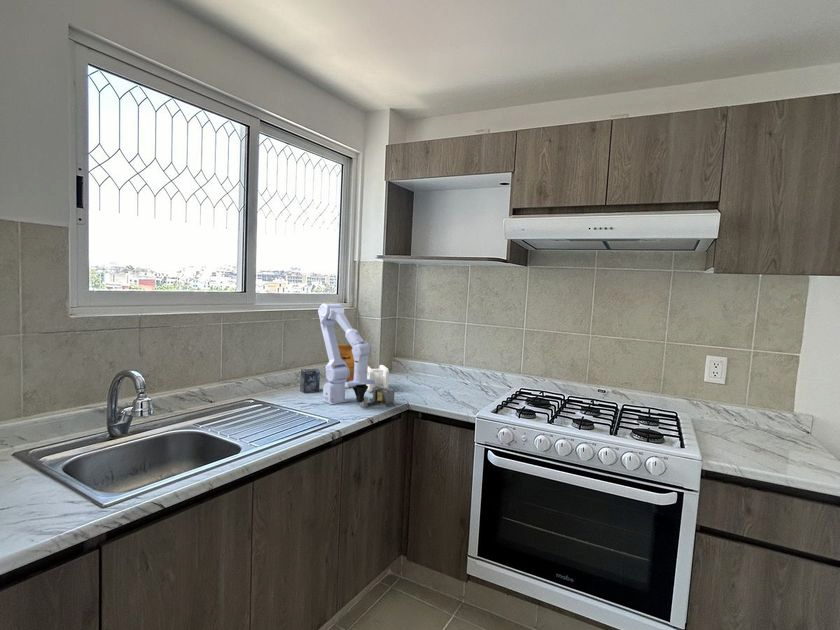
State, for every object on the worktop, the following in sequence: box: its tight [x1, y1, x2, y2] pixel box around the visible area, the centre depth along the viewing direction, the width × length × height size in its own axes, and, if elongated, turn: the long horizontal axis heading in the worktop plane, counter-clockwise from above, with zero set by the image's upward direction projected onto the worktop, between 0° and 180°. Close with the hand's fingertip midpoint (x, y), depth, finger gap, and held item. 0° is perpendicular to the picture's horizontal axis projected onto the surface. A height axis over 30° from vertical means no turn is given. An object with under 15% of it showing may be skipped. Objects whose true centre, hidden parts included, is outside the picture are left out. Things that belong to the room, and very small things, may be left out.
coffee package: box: [338, 343, 354, 389], centre depth 230 cm, size 10×12×22 cm
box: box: [299, 368, 321, 394], centre depth 216 cm, size 8×6×11 cm
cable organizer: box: [366, 364, 390, 393], centre depth 226 cm, size 15×11×12 cm
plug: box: [359, 391, 388, 409], centre depth 198 cm, size 14×4×5 cm, turn 134°
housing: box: [369, 386, 398, 408], centre depth 202 cm, size 5×14×6 cm, turn 44°
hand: (359, 402), depth 193 cm, fingers closed
